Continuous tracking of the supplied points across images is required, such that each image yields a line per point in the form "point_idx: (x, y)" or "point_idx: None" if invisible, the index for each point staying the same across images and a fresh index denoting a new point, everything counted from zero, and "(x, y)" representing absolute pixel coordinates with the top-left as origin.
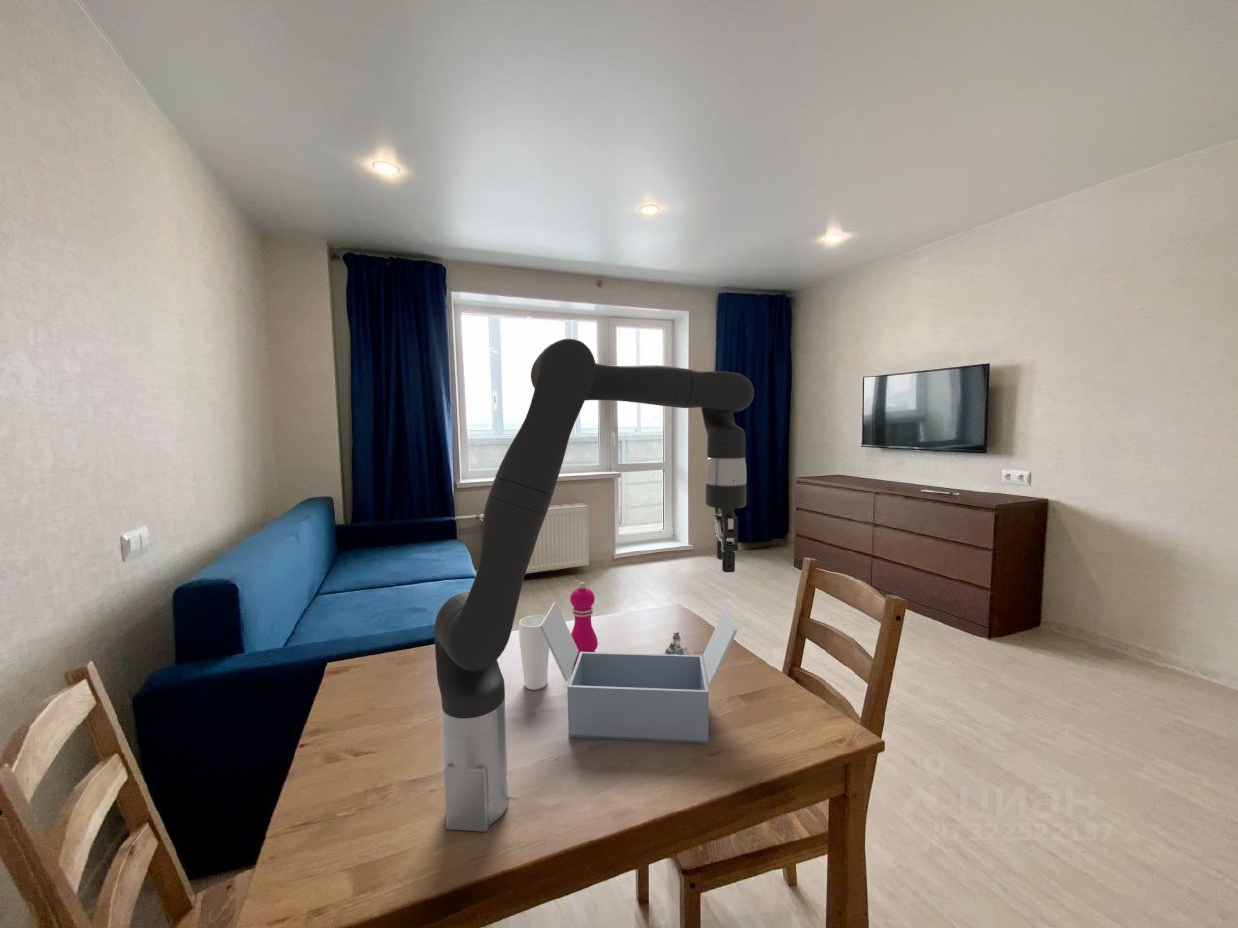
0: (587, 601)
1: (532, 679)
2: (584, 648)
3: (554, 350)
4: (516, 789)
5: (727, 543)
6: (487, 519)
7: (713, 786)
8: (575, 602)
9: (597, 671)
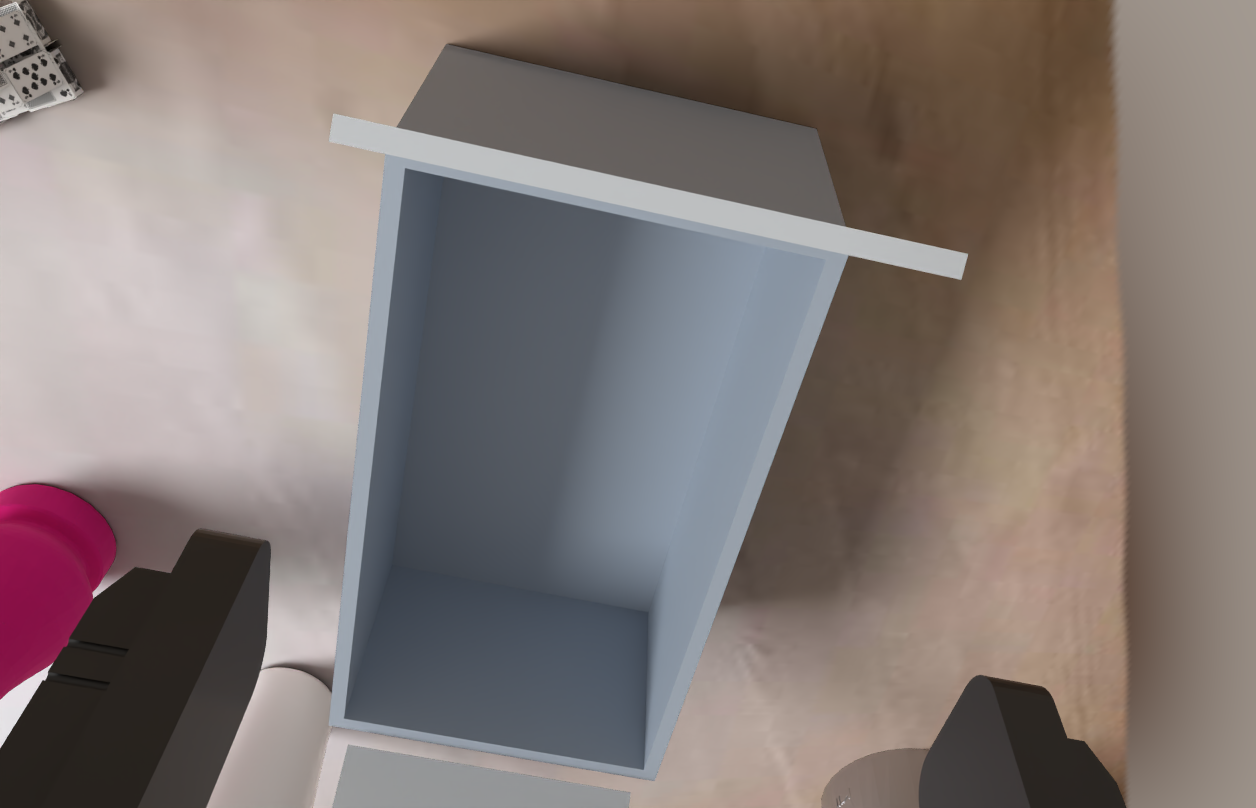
0: None
1: (326, 743)
2: (81, 601)
3: None
4: (871, 734)
5: (147, 802)
6: None
7: (1075, 192)
8: None
9: (372, 597)
